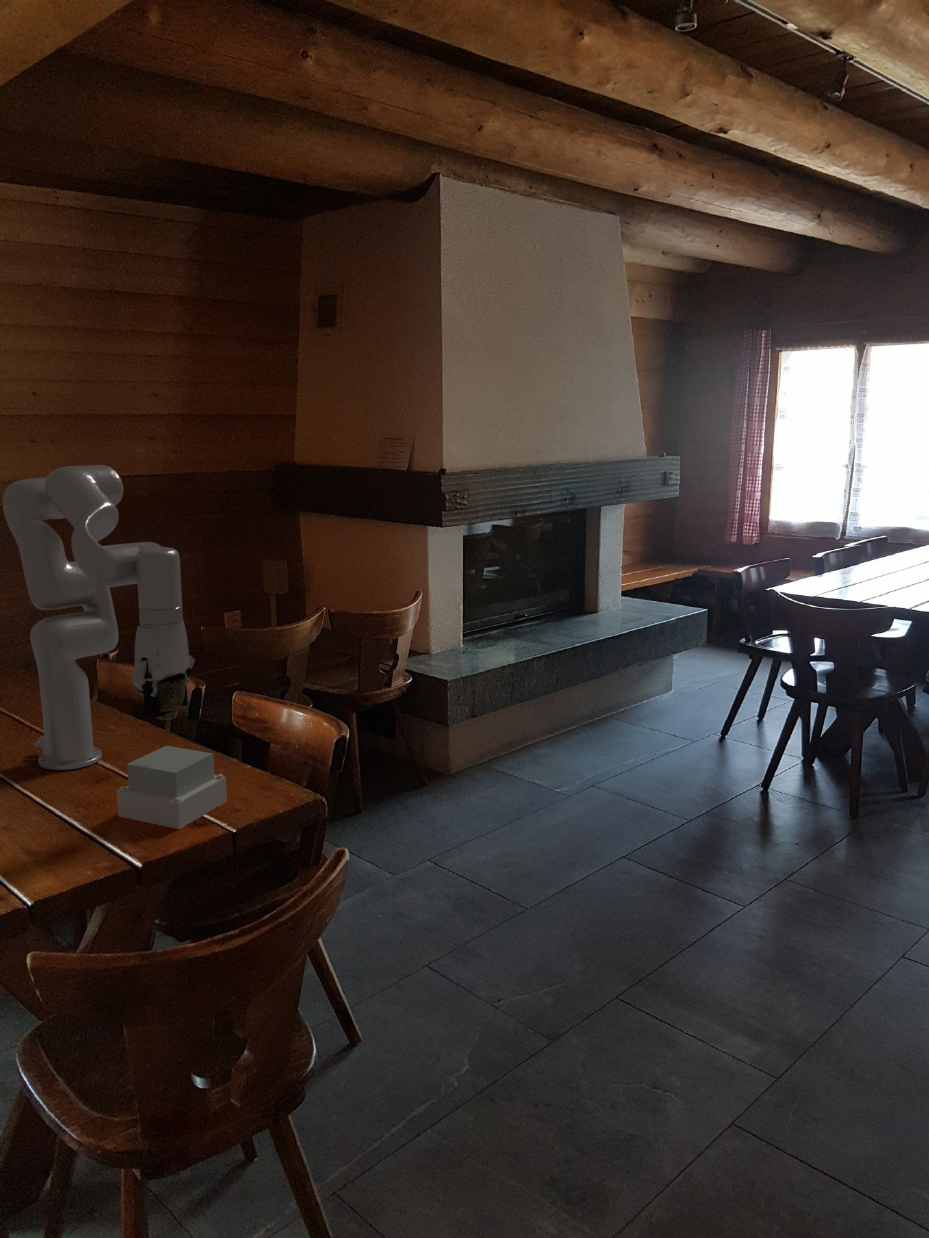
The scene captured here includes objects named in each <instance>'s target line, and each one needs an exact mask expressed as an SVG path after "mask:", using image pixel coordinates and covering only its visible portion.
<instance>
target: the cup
mask: <svg viewBox="0 0 929 1238" xmlns="http://www.w3.org/2000/svg"><path fill="white" fill-rule="evenodd" d="M150 678H152V676H151V677H150ZM152 684H153V682H149V681H148V685H149V686H150V687H151V688H152ZM185 684H186V676H185V673H184V674H183V675H182V678H180V675H178V677H177V676H173V677H170V678H167V679H164V680H161V681H160V682H158V686H159V688H158V692H157V695H158V696H159V697H160V711H161V715H160V717H157V719H159V720H161V721H162V720H163V721H168V720H173V719H175V718H176V717H177V715H178V712H177V710H178V709H180V707H182V706H181V705H182V703H183V701H184V696H185ZM186 685H187V684H186Z"/></svg>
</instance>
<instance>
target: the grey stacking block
mask: <svg viewBox="0 0 929 1238" xmlns="http://www.w3.org/2000/svg"><path fill="white" fill-rule="evenodd" d="M214 759H215V758H214V753H212V752H207V751H206V752H205V751H201V750H195V749H189V748H182V747H176V746H170V745H165V746H163V747H161V748H159V749H156V750H154V751H152V752H150V753H147V754H146V755H143V756H142V757H139V758H137V759H135V760H132V761H131V762H129V763H127V764H126V769H127V783H128V785H127V786H120V787H119V788H118V790H116V802H117V803H116V804H117V815H118V817H120V818H123V819H128V818H129V819H128V820H132V821H137V820H139V821H138V822H141V823H142V822H143V823H147V822H148V824H152V825H156V824H157V825H158V826H162V827H167V828H172V829H175V830H176V829H177V830H181V829H183V828H184V827H186V826H188V825H190V824H191V823H193V822H194V820H195V821H197V820H198V819H200V818H201V817H204V816H205V815H206V813H207V814H208V813H210V812H212V811H213V810H215V809H217V808H218V807H220V806H222V805H224V804H225V803H226V802H228V795H227V777H226V776H224V774H222V773H218V774H217V775H216V774H215V763H214V762H215V761H214ZM216 807H217V808H216ZM211 810H212V811H211ZM209 811H210V812H209ZM204 814H205V815H204ZM189 823H190V824H189ZM187 824H188V825H187Z"/></svg>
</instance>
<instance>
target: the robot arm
mask: <svg viewBox="0 0 929 1238" xmlns="http://www.w3.org/2000/svg"><path fill="white" fill-rule="evenodd" d="M123 496H124V484H123V481H122V478H121V477H120V475H119V474H118V472H117V471H116V470H115V469H113V468H112V467H110V466H108V465H103V464H97V465H96V464H92V465H68V466H67V465H66V466H61V467H59V468H56V469H54V470H52V471H51V472H49V474H48V475H47V476H46V477H36V478H35V477H34V478H25V479H21V480H16V481H15V482H12V483H10V484H9V485H8V486H7V487H6V488H5V490H4V492H3V497H2V511H3V515H4V518H5V521H6V523H7V525H8V526H7V527H8V529H9V530H10V532H11V534H12V536H13V538H14V540H15V542H16V545H17V547H18V550H19V555H20V560H21V565H22V570H23V575H24V579H25V583H26V588H27V592H28V596H29V598H30V599H29V600H30V601H31V604H32V605H33V606H34V607H35V608H36V609H38V610H41V611H49V610H50V611H52V610H61V609H67V608H75V607H80V606H81V607H82V608H83V610H84V611H81V612H75V613H73V612H72V613H66V614H59V615H54V616H49V617H46V618H43V619H41V620H39V621H37V622H36V623H35V624H34V625H33V626H32V628H31V629H30V636H29V638H30V645H31V648H32V652H33V654H34V659H35V663H36V667H37V673H38V674H37V675H38V680H39V692H40V700H41V701H40V702H41V712H42V725H43V735H40V736H38V739H37V741H35V742H34V744H33V745H34V746H33V747H34V748H36V749H41V751H42V754H41V755H40V756H39V757H38V759H37V760H38V761H37V762H38V765H39V766H40V767H41V768H43V769H46V770H51V771H52V770H53V771H68V770H75V769H76V770H77V769H80V768H84V767H85V768H86V767H88V766H90V765H91V766H92V765H94V764H95V763H97V762H99V761H100V760H101V758H102V755H103V754H102V750H101V749H100V748H98V747H95V746H94V738H93V725H92V712H91V702H90V701H91V700H90V686H89V678H88V676H87V674H86V672H85V671H84V670H83V669H82V668H81V667H80V666H79V665H78V664H77V663H76V660H78V659H82V658H87V657H91V656H97V655H102V654H106V653H109V652H111V651H112V650H114V649H115V648H116V647H117V644H118V642H119V630H118V629H119V628H118V622H117V616H116V612H115V607H114V602H113V598H112V593H111V589H110V588H115V587H121V586H123V587H124V586H128V585H136V586H137V598H138V599H137V601H138V611H139V612H138V614H139V615H138V617H139V625H138V626H137V628H136V633H135V640H134V674H133V676H132V677H131V683H132V684H133V685H134V686H135V688H136V690H137V691H138V692H140V695H141V696H143V697H142V698H143V712H144V715H145V716H147V717H152V718H158V717H160V715H161V711H160V697H159V696H158V695H157V692H158V688H159V686H158V682H160V681H161V680H164V679H167V678H170V677H173V676H177V677H178V675H180V678H182V675H183V674H184V673H185V676H186V684H185V696H184V701H183V703H182V705H181V706H180V707H182V706H183V707H186V706H188V687H187V686H188V684H189V683H190V679H189V677H190V676H191V673H192V668H193V666H194V664H195V662H196V660H195V658H194V657H193V656H192V655H190V651H189V649H190V648H189V641H188V634H187V629H186V626H185V622H184V616H183V614H184V613H183V600H182V599H183V597H182V596H183V595H182V579H181V560H180V559H181V558H180V553H179V552H178V550H176V549H175V548H173V547H166V546H162V545H160V544H158V543H156V542H153V541H139V542H131V543H119V544H110V545H102V544H99V541H101V540H102V539H104V538H106V537H108V536H109V535H110V534H111V533H112V532H113V531H114V530H115V528H116V527H117V525H118V523H119V516H120V515H119V514H120V513H119V510H118V508H117V507H116V506H117V505H118V504H119V503H120V502H121V500H122V499H123ZM56 519H57V520H59V519H66V520H67V521H68V523H69V524H71V526H72V527H73V531H72V534H71V539H70V540H71V541H70V542H71V543H70V545H71V550H72V555H73V558H74V560H73V561H69V560H68V559H67V556H66V552H65V547H64V543H63V540H62V539H61V537H60V535H59V534H58V533H57V532H56V530H54V529H53V528H52V527H51V526H50V525H48V523H46V522H44V521H45V520H56ZM151 676H152V678H150V677H151ZM148 681H149V682H153V684H152V688H151V687H150V686H149V685H148Z"/></svg>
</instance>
